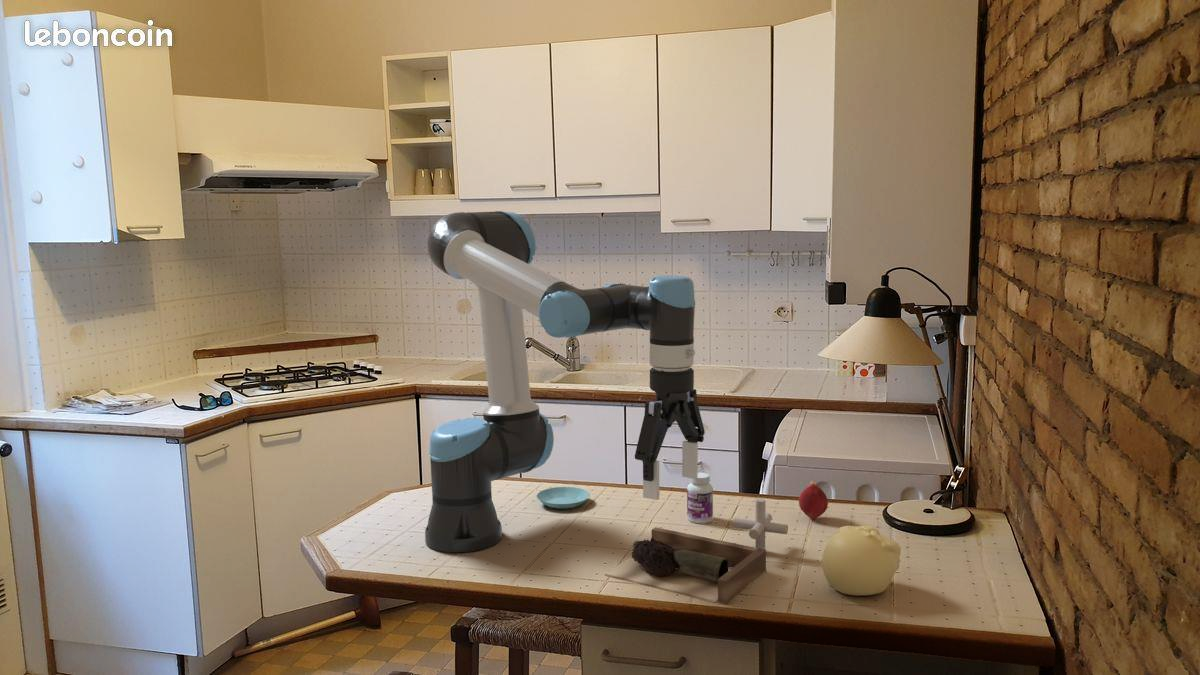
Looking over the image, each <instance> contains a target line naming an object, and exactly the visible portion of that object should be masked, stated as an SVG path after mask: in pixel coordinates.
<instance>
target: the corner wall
mask: <svg viewBox="0 0 1200 675" xmlns="http://www.w3.org/2000/svg"><path fill="white" fill-rule="evenodd" d="M650 534H651V538H654V539H655V540H657V541H661V542H663V543H665V544H666V545H668V546H670V547H672V548H674V549H683V550H688V551H693V552H698V553H702V554H706V555H711V556H716V557H721V558H725V559H727V560H728V562H729V564H728V566H729V568H731V569H729V570H728V572H727V573H726V574H724V575H723V576H722V577H720V578H719V579H718V601H717V603H719V604H723V605H728V604H729V603H730V602H732V600H734V599H735V598H736V597H738V595H740V594H741V593H742V592H744V591H745V590H746V589H747V588H748V587H749V586H750V585H752V584H753V583H754V582H755V581H757V580H758V579H759V578H760V577H761V576H763V573H764V574H765V573H766V572H767V550H766V549H765V550H764V549H759V548H756V546H755V547H754V546H749V545H744V544H739V543H735V542H729V541H724V540H720V539H714V538H711V537H710V538H708V537H704V536H699V535H694V534H691V533H684V532H680V531H675V530H671V529H666V528H660V527H653V528H652V529H651V533H650ZM732 567H733V568H732Z"/></svg>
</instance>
